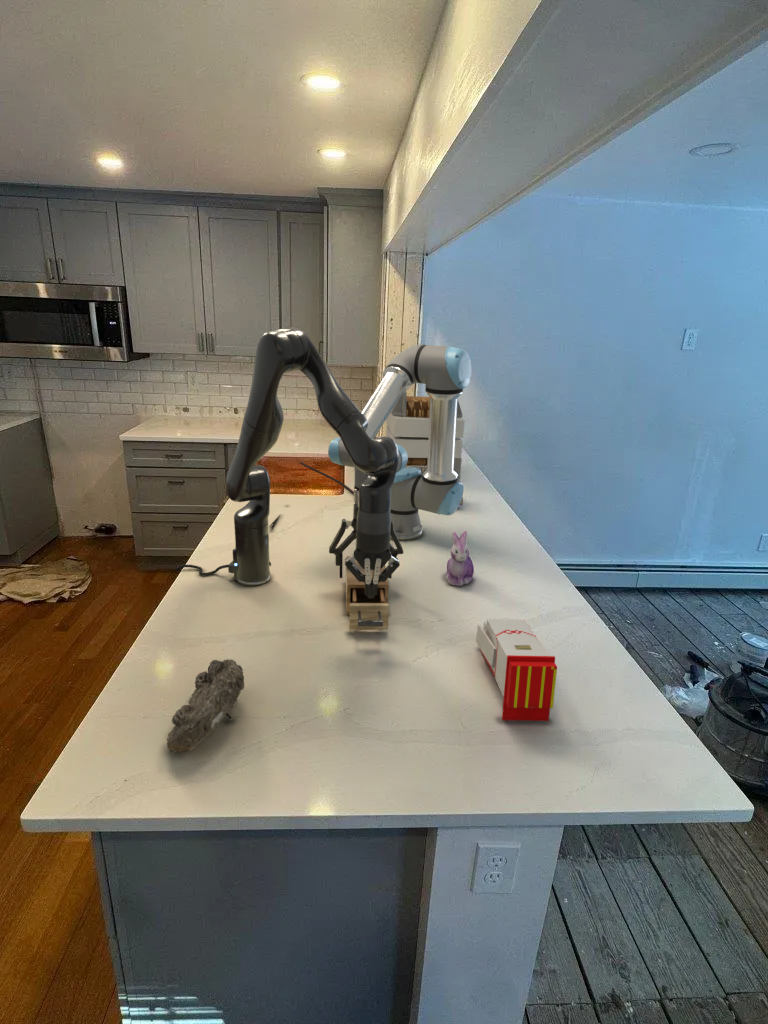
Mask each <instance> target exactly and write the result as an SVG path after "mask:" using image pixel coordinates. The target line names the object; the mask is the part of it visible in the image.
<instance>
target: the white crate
mask: <svg viewBox="0 0 768 1024" xmlns="http://www.w3.org/2000/svg"><path fill="white" fill-rule="evenodd" d="M407 394H408V393H407V391H404V392H403V393H402V395H401V397H400V398H399V400H398V401H397V403H396V405H395V406H394V408H393V409H392V411H391V413H390V414H389V416H388V418H387V419H386V421H385V423H386V428H385V436H387V437H390V438H391V439H393V440H394V441H395V443H396V444H397V445H400V446H402V447H403V448H404V449H405V450H406V452H407V456H408V461H407V464H406V467H409V466H411V467H417V466H418V467H427V464H428V438H429V412H430V396H415V395H414V396H413V395H412V396H411V395H407ZM464 429H465V419H464V418H463V411H462V408H461V405H460V402H459V399H458V400H457V418H456V435H455V452H454V471H455V472H456V473H457V474H458V482H461V472H462V461H463V460H462V453H463V442H464V441H463V440H462V439H463V438H464V431H465V430H464Z"/></svg>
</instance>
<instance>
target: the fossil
mask: <svg viewBox="0 0 768 1024" xmlns="http://www.w3.org/2000/svg"><path fill="white" fill-rule="evenodd" d="M243 670H244V669H243V667H242V665H240V664H237V662H236V661H235V660H234V659H232V658H231V659H227V658H226V659H224V660H223V661H222V660H217V659H212V660H211V661H210V663H209V665H208V666H207V671H201V672H199V673H198V674H197V675H196V676H195V680H194V684H195V685H194V687H195V689H194V690H193V693H192V694H191V697H190V698H189V700H188V704H184V705H182V706H181V707H180V709H177V710H176V711H175V713H174V715H173V716H172V718H171V723H172V724H173V727H172V730H171V731H170V732H168V734H167V738H166V741H167V742H166V745H167V749H168V750H169V751H173V752H174V753H176V754H178V753H182V752H188V751H189V752H192V751H193V750H195V748H196V747H197V746H199V744H200V743H201V742H203V741H204V740H205V739H206V738H207V737H208V736H209V735H210V734H211V733H212V732H214V730H215V729H217V727H218V726H219V724H220V722H221V721H222V720H223V719H224V718H225V716H226V717H227V719H229V720H233V717H232V715H230V714H229V710H230V709H231V708H234V706H235V704H236V703H237V702H238V699H239V697H240V695H241V693H242V691H243V690H245V689H244V688H245V675H244V671H243Z"/></svg>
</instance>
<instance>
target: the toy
mask: <svg viewBox="0 0 768 1024" xmlns="http://www.w3.org/2000/svg"><path fill="white" fill-rule="evenodd" d="M476 629H477V631H476V638H475V642H476V645H477V646H478V648H479V650H480V652H481V654H482V656H483V658H484V660H485V661H486V664H487V666H488V668H489V669H490V671H491V672H492V675H493V676H494V679H495V681H496V685H497V686H498V688H499V690H500V692H501V695H502V697H503V701H502V712H501V720H502V721H521V722H523V721H526V722H528V721H529V722H550V712H551V709H554V702H555V692H556V681H557V673H558V665H557V664H556V656H555V655H550V654H549V652H548V651H547V650H546V648H545V647H544V645H543V644H542V642H541V641H540V639H539V638H538V637H537V635H536V634H535V632H534V631H533V629H532V627H531V625H530V624H528V623H527V621H526V619H521V618H518V619H515V618H513V619H512V618H486V620H484V621H483V626H482V625H481V624H477V628H476Z"/></svg>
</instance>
